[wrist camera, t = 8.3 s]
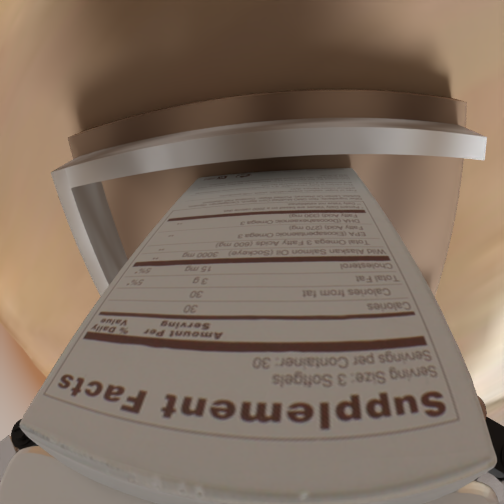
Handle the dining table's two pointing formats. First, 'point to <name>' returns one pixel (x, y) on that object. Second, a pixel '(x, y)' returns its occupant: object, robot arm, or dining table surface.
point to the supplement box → (267, 358)
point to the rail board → (270, 163)
